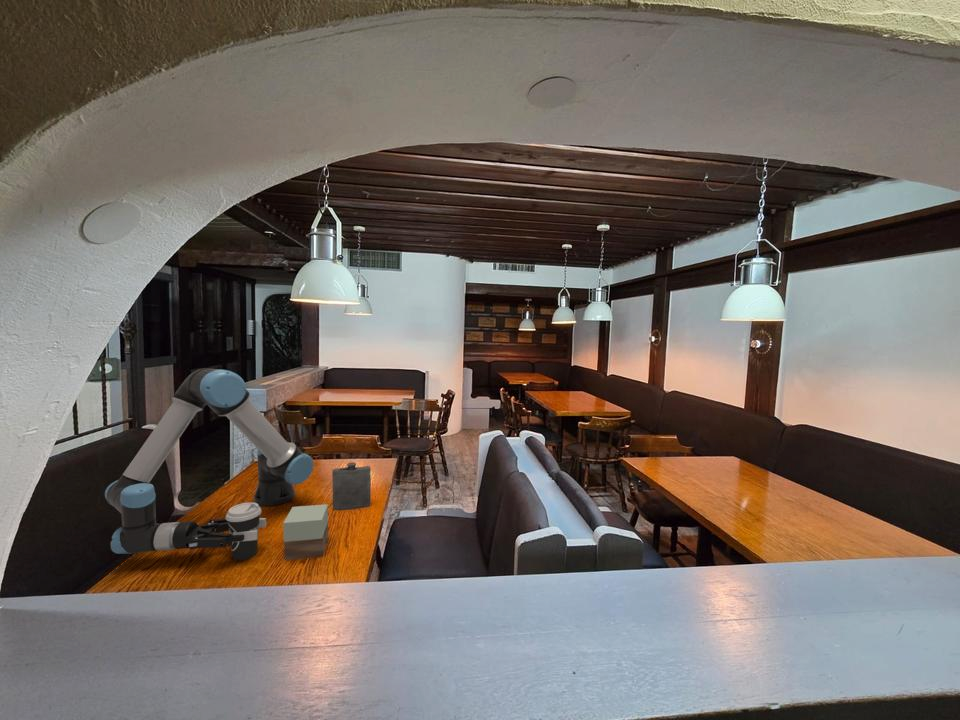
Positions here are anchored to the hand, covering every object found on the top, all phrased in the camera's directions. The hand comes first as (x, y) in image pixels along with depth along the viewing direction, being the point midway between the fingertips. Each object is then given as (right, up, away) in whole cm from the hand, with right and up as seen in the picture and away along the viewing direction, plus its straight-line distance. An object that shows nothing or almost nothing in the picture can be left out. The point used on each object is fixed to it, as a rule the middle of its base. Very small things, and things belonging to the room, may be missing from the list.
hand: (261, 528), depth 121 cm
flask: (+17, -6, +33) cm, 38 cm away
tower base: (+13, -8, +4) cm, 16 cm away
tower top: (+13, -2, +3) cm, 13 cm away
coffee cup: (-5, -8, 0) cm, 10 cm away
